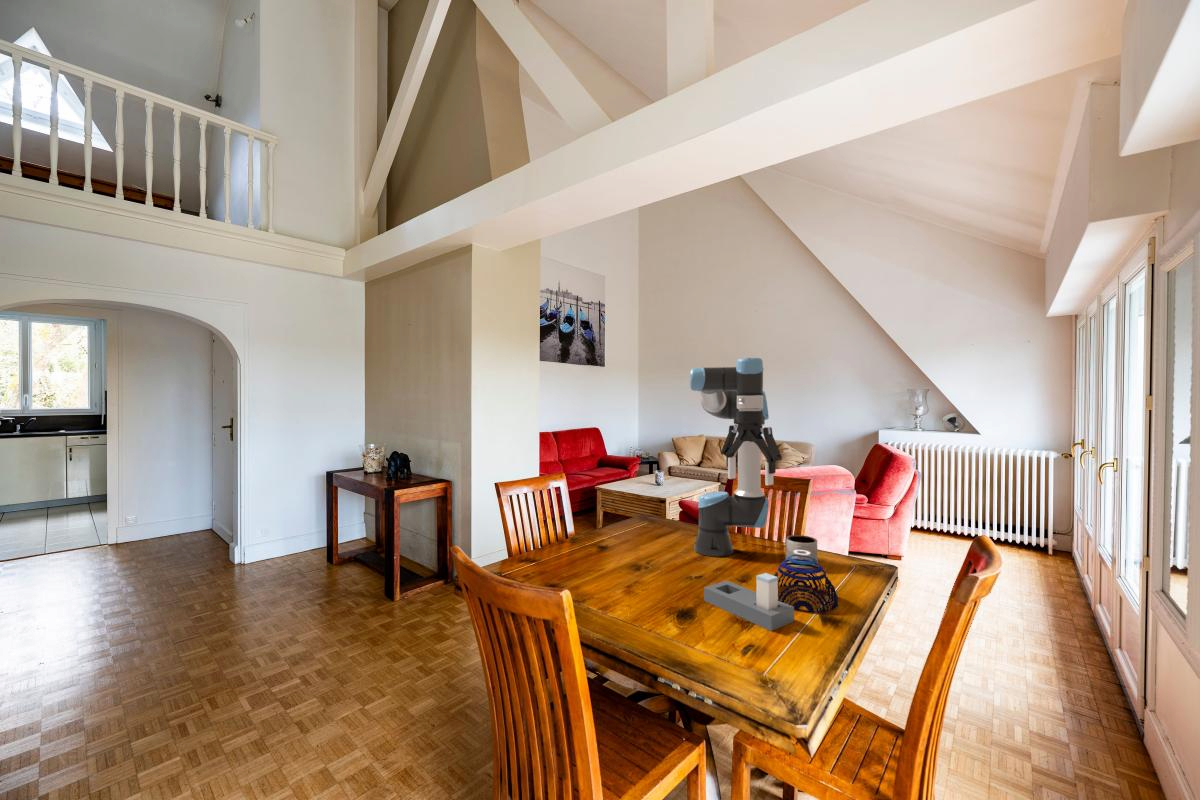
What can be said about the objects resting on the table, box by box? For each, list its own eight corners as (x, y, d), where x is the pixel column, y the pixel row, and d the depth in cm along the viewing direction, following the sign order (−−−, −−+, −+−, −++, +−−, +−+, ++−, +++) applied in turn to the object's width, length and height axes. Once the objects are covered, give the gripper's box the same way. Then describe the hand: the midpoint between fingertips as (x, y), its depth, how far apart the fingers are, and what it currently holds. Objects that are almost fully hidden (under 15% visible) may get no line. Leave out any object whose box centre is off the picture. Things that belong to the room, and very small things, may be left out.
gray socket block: (726, 593, 157) (726, 580, 157) (794, 621, 137) (794, 606, 137) (704, 600, 151) (704, 587, 151) (771, 631, 131) (771, 616, 131)
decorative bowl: (766, 607, 146) (766, 558, 146) (767, 583, 165) (767, 540, 165) (841, 617, 140) (841, 566, 139) (834, 591, 158) (833, 546, 158)
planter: (785, 567, 180) (785, 541, 180) (786, 558, 190) (786, 533, 190) (818, 571, 176) (818, 544, 176) (817, 562, 186) (817, 536, 186)
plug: (765, 615, 141) (765, 572, 141) (777, 620, 138) (777, 577, 138) (756, 618, 139) (756, 575, 139) (768, 624, 135) (768, 580, 135)
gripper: (709, 409, 156) (709, 477, 156) (778, 411, 135) (778, 489, 135) (725, 409, 160) (725, 474, 160) (794, 410, 139) (794, 486, 139)
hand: (749, 481), depth 148 cm, fingers open, 13 cm apart
